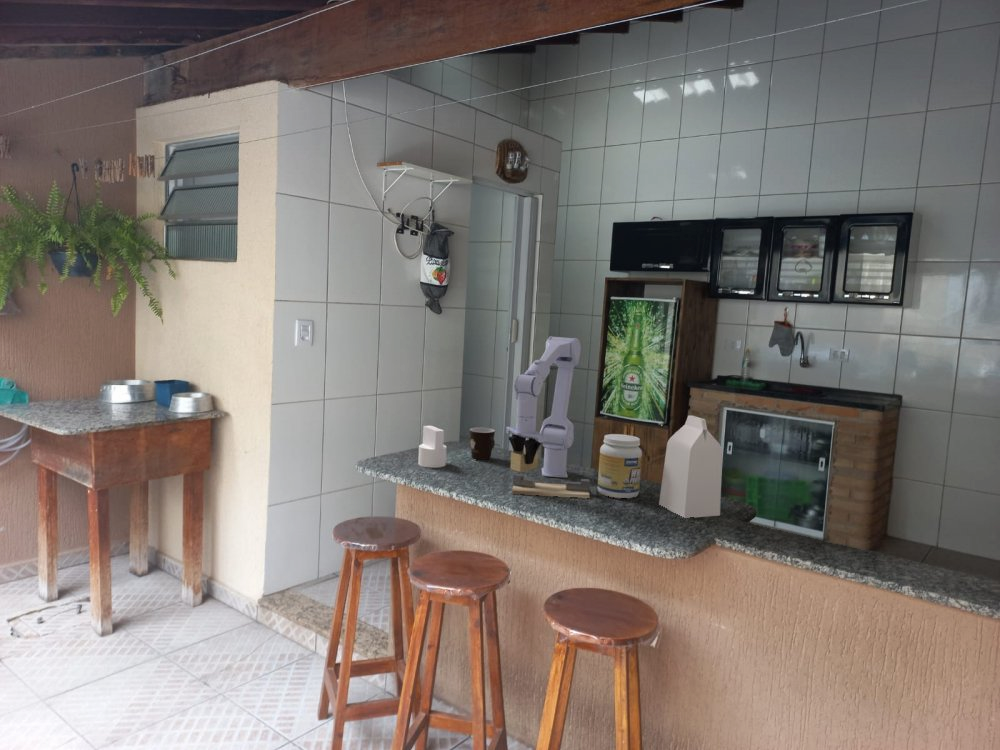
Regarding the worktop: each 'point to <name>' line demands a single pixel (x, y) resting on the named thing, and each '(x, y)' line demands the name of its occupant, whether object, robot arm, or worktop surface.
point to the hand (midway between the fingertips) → (523, 462)
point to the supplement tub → (620, 466)
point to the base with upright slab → (432, 448)
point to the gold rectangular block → (522, 461)
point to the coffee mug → (481, 443)
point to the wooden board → (549, 490)
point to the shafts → (577, 486)
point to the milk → (692, 471)
